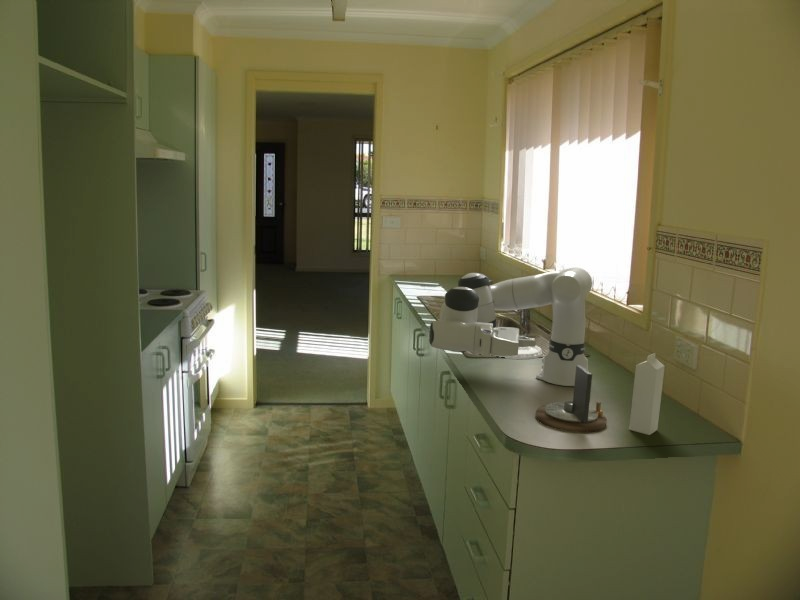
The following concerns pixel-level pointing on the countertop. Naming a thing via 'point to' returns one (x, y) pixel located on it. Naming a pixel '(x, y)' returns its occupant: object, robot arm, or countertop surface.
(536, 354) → the medallion
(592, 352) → the countertop surface
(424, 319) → the countertop surface
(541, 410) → the post base
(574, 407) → the grey finned round piece
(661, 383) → the milk
